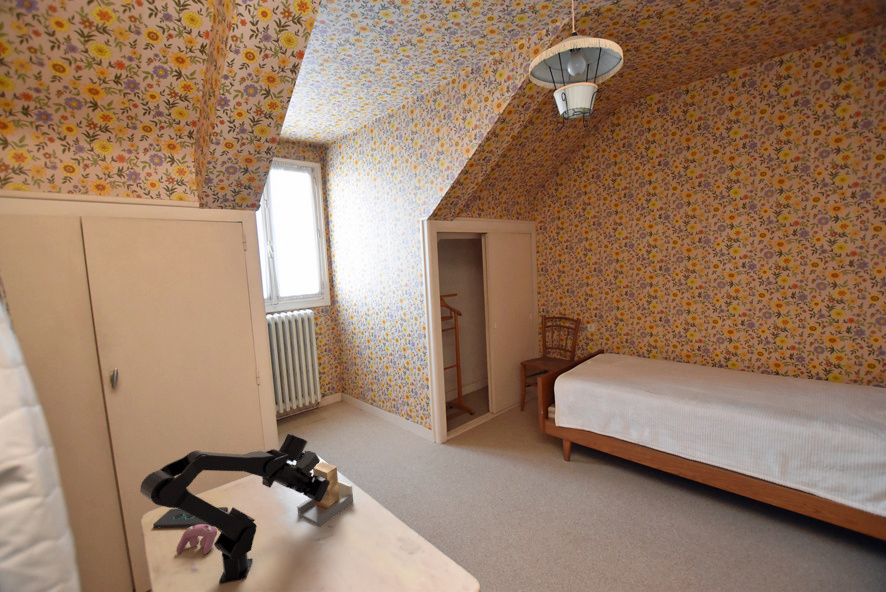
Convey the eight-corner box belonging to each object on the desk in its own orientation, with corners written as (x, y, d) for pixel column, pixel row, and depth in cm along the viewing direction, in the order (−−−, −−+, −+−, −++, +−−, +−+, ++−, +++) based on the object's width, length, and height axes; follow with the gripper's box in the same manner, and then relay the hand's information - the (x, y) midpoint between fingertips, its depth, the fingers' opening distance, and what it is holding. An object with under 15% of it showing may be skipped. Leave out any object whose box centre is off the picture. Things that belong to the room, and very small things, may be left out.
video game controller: (216, 550, 113) (221, 523, 115) (206, 554, 109) (211, 526, 111) (185, 550, 114) (190, 523, 116) (173, 554, 110) (179, 525, 112)
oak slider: (330, 509, 124) (326, 472, 123) (315, 503, 128) (312, 467, 127) (339, 503, 127) (336, 466, 126) (325, 496, 131) (322, 461, 130)
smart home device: (171, 508, 130) (228, 506, 129) (171, 512, 130) (229, 511, 129) (151, 524, 122) (213, 523, 121) (152, 530, 122) (213, 528, 121)
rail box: (320, 526, 118) (318, 508, 118) (298, 515, 124) (296, 497, 124) (353, 502, 130) (352, 485, 129) (331, 493, 136) (330, 476, 135)
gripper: (321, 455, 114) (352, 472, 124) (283, 441, 124) (315, 458, 134) (301, 494, 108) (335, 509, 118) (263, 477, 119) (297, 491, 129)
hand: (320, 490), depth 125 cm, fingers closed, pressing on oak slider
